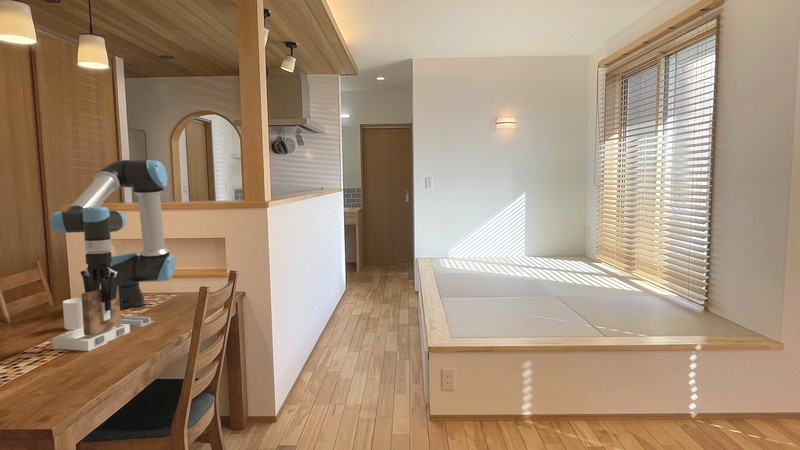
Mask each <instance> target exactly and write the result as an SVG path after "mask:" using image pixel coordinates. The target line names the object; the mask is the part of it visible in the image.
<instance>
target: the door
mask: <svg viewBox="0 0 800 450" xmlns="http://www.w3.org/2000/svg"><path fill="white" fill-rule="evenodd" d="M80 296H81V298H82V311H83V326H84V335H93V334H96V333H98V332H101V331H104V330H106V329H109V328H112V327H114V326H117V325H120V324H121V319H122V318H121V308H120V301H119V286H117V292H116V298H115V299H113V300H111V310H110V318H111V319H108V320H105V321H102V306H101V302H102V301H103V296H102V290H101V288H100V289H97V290H94V291H90V292H86V293H85V292H83V293H81V294H80Z"/></svg>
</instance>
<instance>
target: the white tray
mask: <svg viewBox="0 0 800 450" xmlns="http://www.w3.org/2000/svg"><path fill="white" fill-rule="evenodd" d="M130 333H131V326H130V324H120V325H117V326H114V327H112V328H109V329H106V330H104V331H101V332H98V333H96V334H93V335H84V327H82V328H79V329H76V330H69V331H68V332H66V333H62V334H59V335H57V336H54V337H52V338H51V342H52V349H56V350H57V349H58V350H69V351H70V350H71V351H83V352H90V351H92V350H94V349H95V350H96V349H97V348H99V347H101V346H104V345H106V344H108V343H111V341H113V340H114V339H117V338H119V337H122V336H125V335H127V334H130Z"/></svg>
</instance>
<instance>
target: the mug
mask: <svg viewBox="0 0 800 450" xmlns="http://www.w3.org/2000/svg"><path fill="white" fill-rule="evenodd" d="M62 310H63V311H62V313H63V327H64V329H65V330H68V331H73V330H76V329H79V328H82V327H84V326H83V311H82V297H73V298H70V299H66V300H65V299H64V300H63V301H62Z"/></svg>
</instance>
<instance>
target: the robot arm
mask: <svg viewBox="0 0 800 450" xmlns="http://www.w3.org/2000/svg"><path fill="white" fill-rule="evenodd" d="M167 185H168V174H167V170H166V167H165V165H164V164H163V163H162V162H161V161H160V160H153V159H135V160H134V159H132V160H131V159H128V160H127V159H121V160H118V161H117V160H116V161H114V162H112V163H109V164H107V165H106V166H104V167H102V168H101V169H100V170H99V171H97V173H96V174H95V175H94V176H93V181H92V182H91V183H90V184H89V186H88V187H86V189H85V190H84V191H83V192H82V193H81V194H80V195H79V196H78V197H77V199H75V201H74V202H73V203H72V204H71V205H70V206H68V208H67V209H66V210H64V211H63V210H61V211H55V212H54V213H52V214H51V216H50V225H51V228H52V230H53V231H55V233H66V234H68V233H69V234H70V233H71V234H72V233H84V234H83V235H84V251H85V252H86V253H85V254H84V256H85V264H86V265H87V268H86V269H85V270H82V271H80V276H81V277H82V280H83V281H82V282H83V289H84V293H86V292H90V291H94V290H97V289H101V290H102V296H103V301H102V302H101V306H102V321H105V320H108V319H111V318H110V310H111V300H113V299H115V298H116V292H117V286H119V301H120V309H128V308H137V307H139V306H143V305H144V304H145V297H144V296H143V292H142V290H141V288H140V283H142V282H145V283H147V282H159V283H161V282H167V281H169V280H170V279H171V278H172V277H173V275H174V272H175V265H176V258H175V256H174V255H173V254H170V250H169V249H168V248H166V243H165V235H164V234H165V233H164V223H163V214H162V213H163V211H162V204H161V203H162V201H161V194H162V193H163V192H164V188H166V187H167ZM122 188H132V192H133V194H135V195H136V196H137V200H138V201H137V203H138V211H139V221H140V231H141V239H142V250H141V251H140V252H139V254H138V252H136V251H135V252H127V253H121V254H120V253H119V254H116V255H113V254H112V252H111V250H112V241H111V233H114V232H118V231H120V230H122V229H123V228H124V227H125V226H126V224H127V217H126V215H125V214H124V213H123V212H122V211H119V210H116V209H114V210H110V209H109V208H108V207H107V206H102V205H103V203H104V202H105V201H106V199H108V197H109V196H110V195H111V194H112V193H114V192H117V191H118V190H119V189H122Z"/></svg>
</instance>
